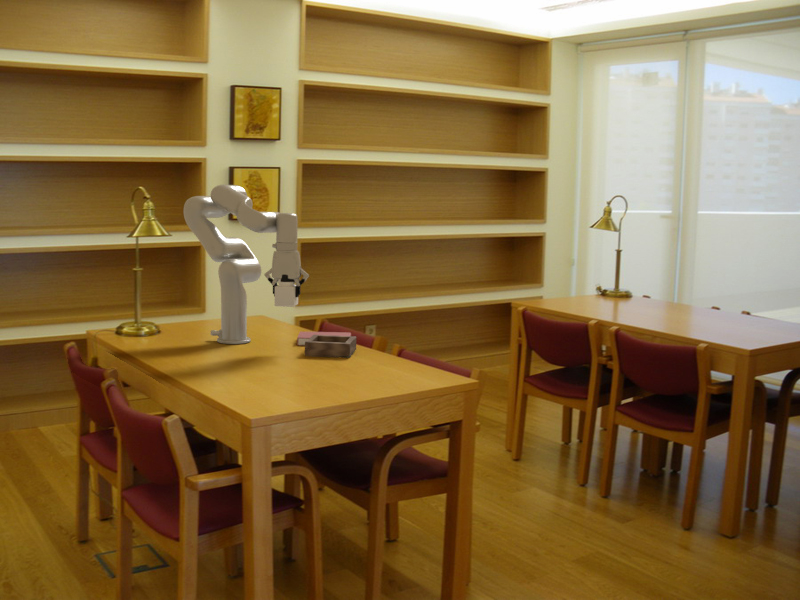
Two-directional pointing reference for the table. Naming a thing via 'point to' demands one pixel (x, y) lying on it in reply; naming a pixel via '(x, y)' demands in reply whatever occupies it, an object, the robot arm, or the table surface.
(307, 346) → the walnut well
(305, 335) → the pink flat slab
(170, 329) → the table surface
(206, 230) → the robot arm
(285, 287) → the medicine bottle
